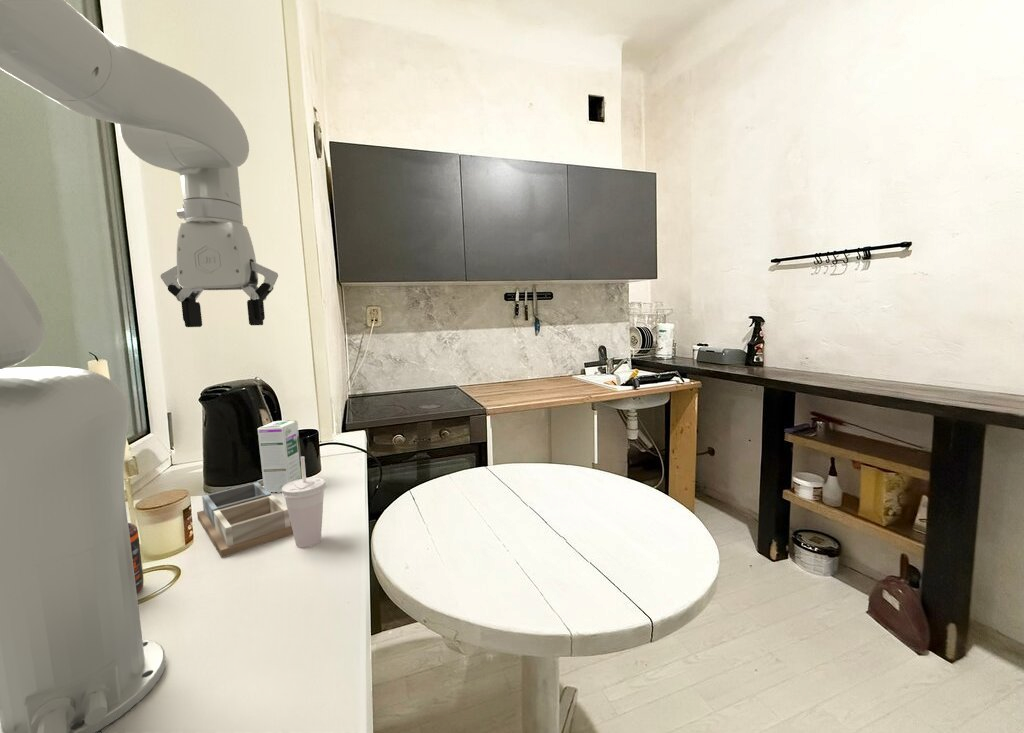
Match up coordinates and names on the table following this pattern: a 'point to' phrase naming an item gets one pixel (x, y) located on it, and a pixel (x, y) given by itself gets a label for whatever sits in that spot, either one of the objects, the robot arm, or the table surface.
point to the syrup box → (279, 454)
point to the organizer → (243, 518)
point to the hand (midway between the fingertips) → (225, 326)
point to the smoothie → (305, 508)
